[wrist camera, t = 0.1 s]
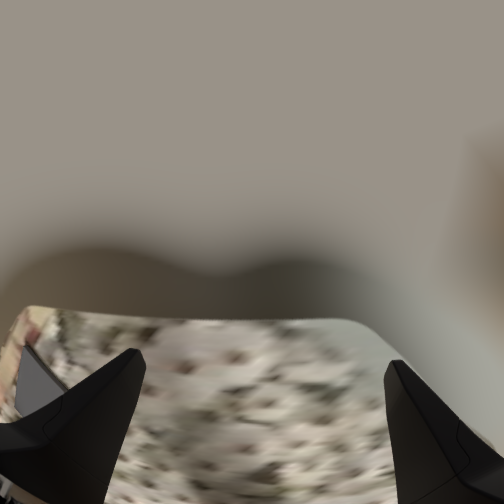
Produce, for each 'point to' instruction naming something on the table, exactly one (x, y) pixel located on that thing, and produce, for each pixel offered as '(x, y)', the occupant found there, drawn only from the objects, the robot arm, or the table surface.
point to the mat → (35, 384)
